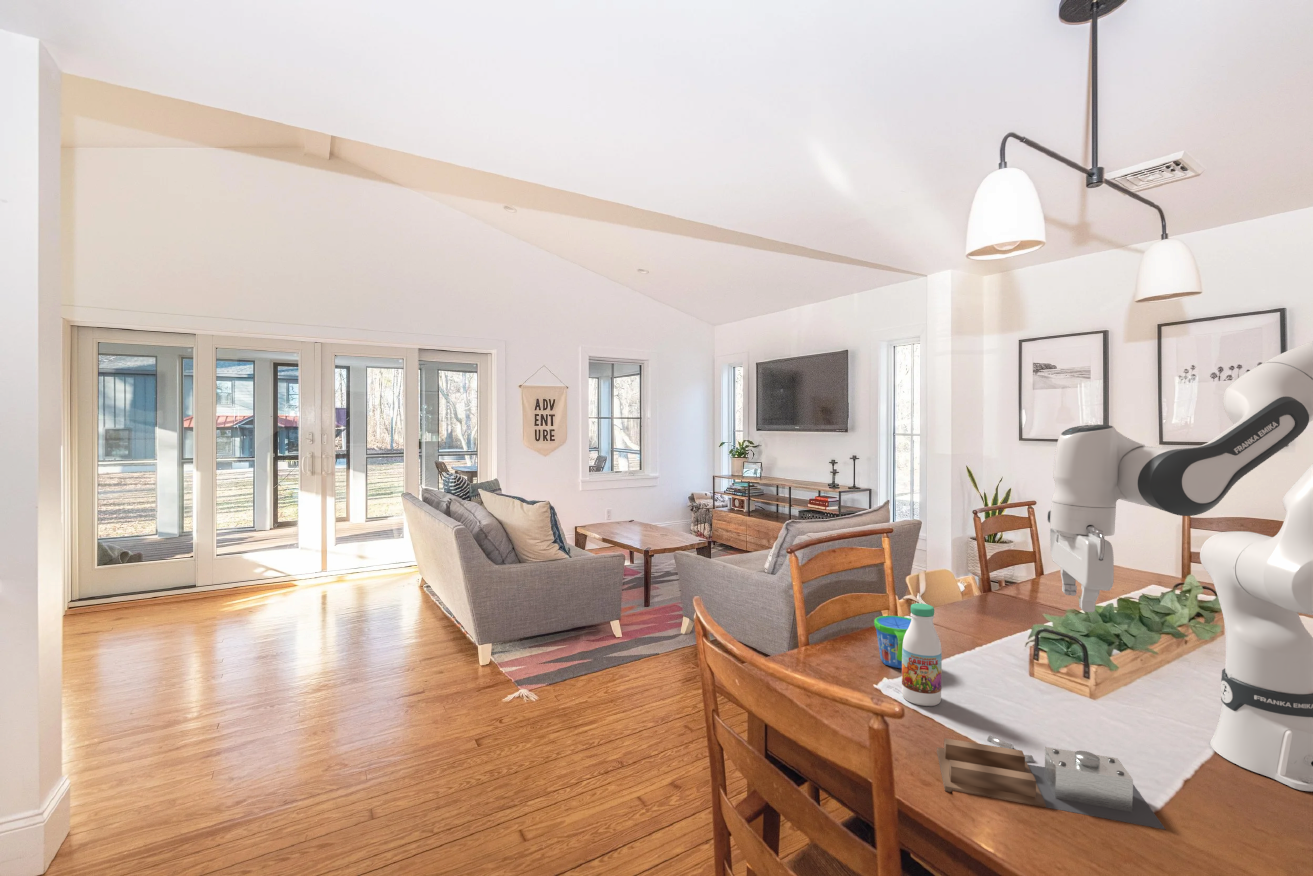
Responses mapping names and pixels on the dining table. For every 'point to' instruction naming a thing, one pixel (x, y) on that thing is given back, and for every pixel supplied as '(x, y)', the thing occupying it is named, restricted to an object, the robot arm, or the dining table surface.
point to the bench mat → (1139, 806)
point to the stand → (988, 772)
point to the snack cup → (891, 638)
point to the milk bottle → (921, 658)
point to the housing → (1088, 778)
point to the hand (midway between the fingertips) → (1077, 602)
